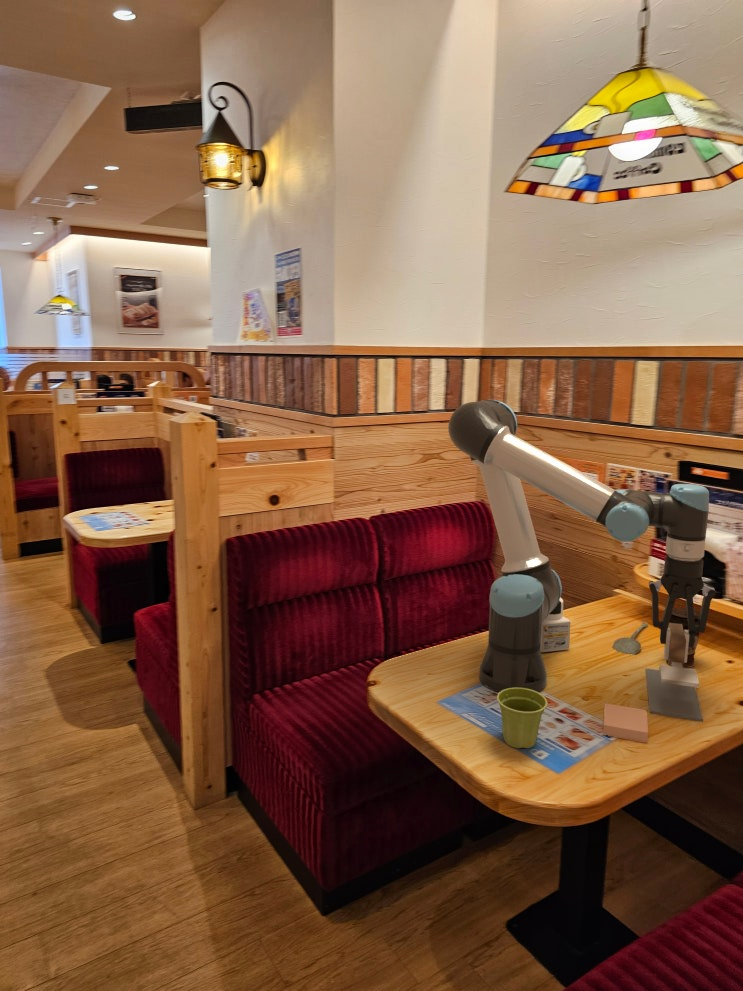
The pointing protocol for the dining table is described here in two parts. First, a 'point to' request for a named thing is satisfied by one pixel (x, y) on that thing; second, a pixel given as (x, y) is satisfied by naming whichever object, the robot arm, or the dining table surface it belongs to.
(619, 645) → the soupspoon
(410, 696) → the dining table surface
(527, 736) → the plant pot
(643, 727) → the tile
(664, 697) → the mat
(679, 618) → the coffee cup
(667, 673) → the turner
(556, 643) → the container
